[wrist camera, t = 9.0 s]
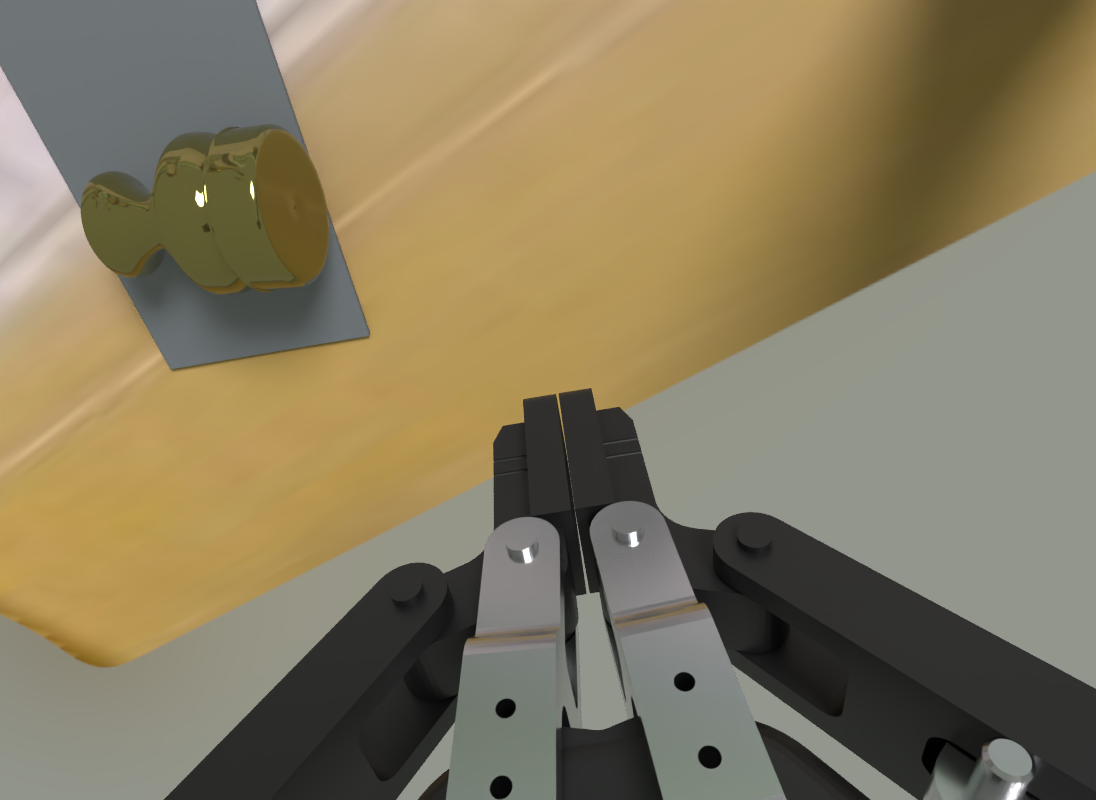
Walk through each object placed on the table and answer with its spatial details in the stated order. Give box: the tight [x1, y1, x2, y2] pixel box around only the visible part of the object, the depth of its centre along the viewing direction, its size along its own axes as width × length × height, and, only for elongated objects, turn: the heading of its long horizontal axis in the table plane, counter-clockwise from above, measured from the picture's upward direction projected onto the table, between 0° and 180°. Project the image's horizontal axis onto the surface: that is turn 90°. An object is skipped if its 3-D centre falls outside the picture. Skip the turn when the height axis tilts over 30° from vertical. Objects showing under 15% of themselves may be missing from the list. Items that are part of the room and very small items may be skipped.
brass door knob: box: [81, 124, 329, 296], centre depth 33 cm, size 7×7×10 cm
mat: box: [0, 0, 370, 369], centre depth 35 cm, size 12×20×1 cm, turn 8°
